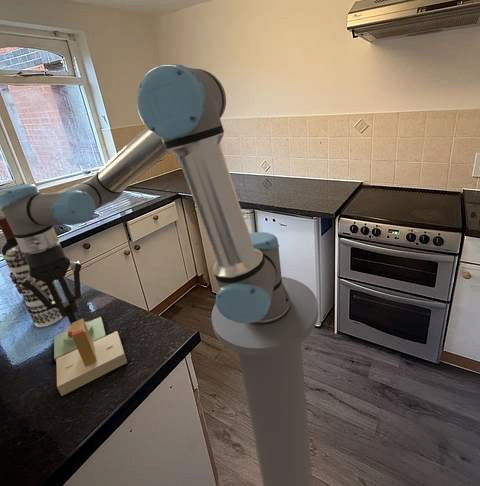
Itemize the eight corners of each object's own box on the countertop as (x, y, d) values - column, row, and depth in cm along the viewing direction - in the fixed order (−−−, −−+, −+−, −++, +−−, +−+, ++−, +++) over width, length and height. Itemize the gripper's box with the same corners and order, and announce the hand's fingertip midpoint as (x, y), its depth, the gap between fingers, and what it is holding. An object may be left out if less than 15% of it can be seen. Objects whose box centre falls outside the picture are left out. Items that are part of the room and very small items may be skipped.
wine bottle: (22, 304, 102) (-17, 224, 91) (27, 293, 108) (-10, 217, 97) (49, 296, 105) (14, 218, 94) (51, 285, 112) (19, 211, 101)
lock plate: (120, 339, 82) (117, 330, 81) (127, 362, 74) (124, 353, 73) (60, 367, 75) (56, 357, 74) (61, 396, 67) (56, 386, 66)
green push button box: (102, 319, 91) (99, 311, 90) (106, 338, 83) (103, 330, 82) (55, 339, 85) (51, 331, 84) (55, 362, 77) (51, 353, 76)
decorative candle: (74, 307, 98) (46, 239, 89) (52, 327, 89) (19, 255, 80) (49, 307, 99) (19, 240, 90) (25, 328, 90) (-11, 256, 81)
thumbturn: (83, 351, 75) (70, 322, 72) (94, 346, 77) (82, 317, 73) (85, 366, 71) (71, 336, 67) (96, 361, 72) (84, 331, 69)
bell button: (85, 324, 85) (83, 319, 85) (86, 332, 82) (84, 327, 82) (69, 331, 83) (66, 326, 83) (69, 339, 80) (67, 334, 80)
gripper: (5, 262, 67) (46, 343, 75) (72, 242, 74) (102, 318, 82) (9, 251, 73) (46, 327, 81) (71, 233, 79) (99, 305, 88)
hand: (74, 322), depth 82 cm, fingers closed
